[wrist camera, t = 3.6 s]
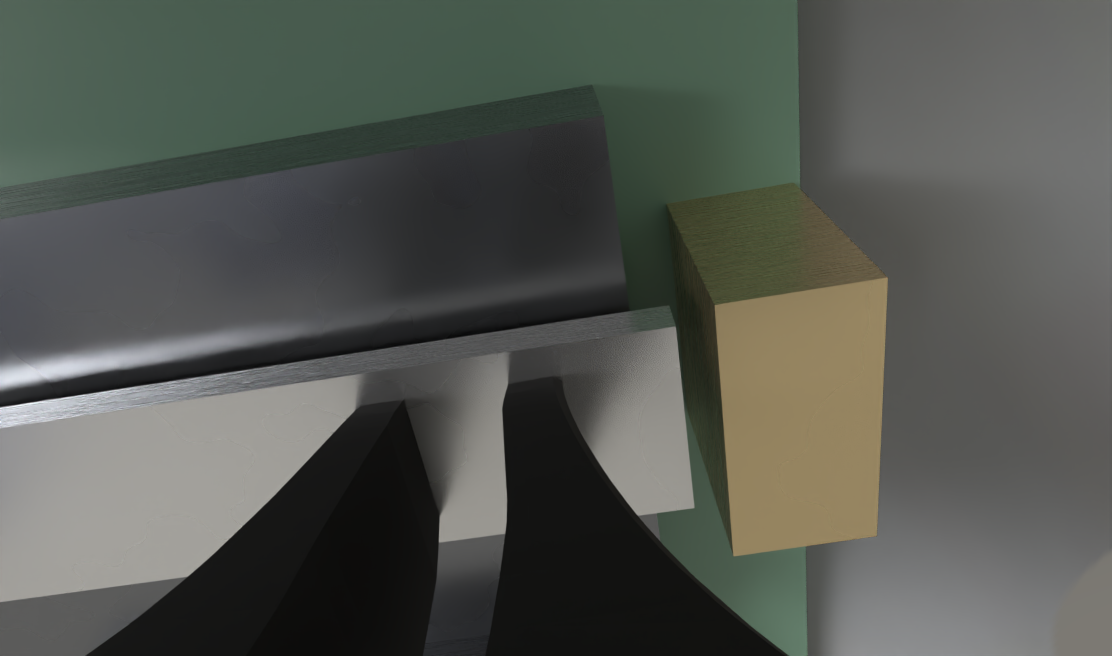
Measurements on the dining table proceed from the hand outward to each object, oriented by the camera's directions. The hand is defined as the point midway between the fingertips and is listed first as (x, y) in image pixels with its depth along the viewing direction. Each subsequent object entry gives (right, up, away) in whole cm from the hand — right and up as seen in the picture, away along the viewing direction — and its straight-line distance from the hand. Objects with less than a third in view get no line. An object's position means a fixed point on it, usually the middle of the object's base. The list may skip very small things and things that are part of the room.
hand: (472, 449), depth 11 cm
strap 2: (-3, 0, +1) cm, 3 cm away
